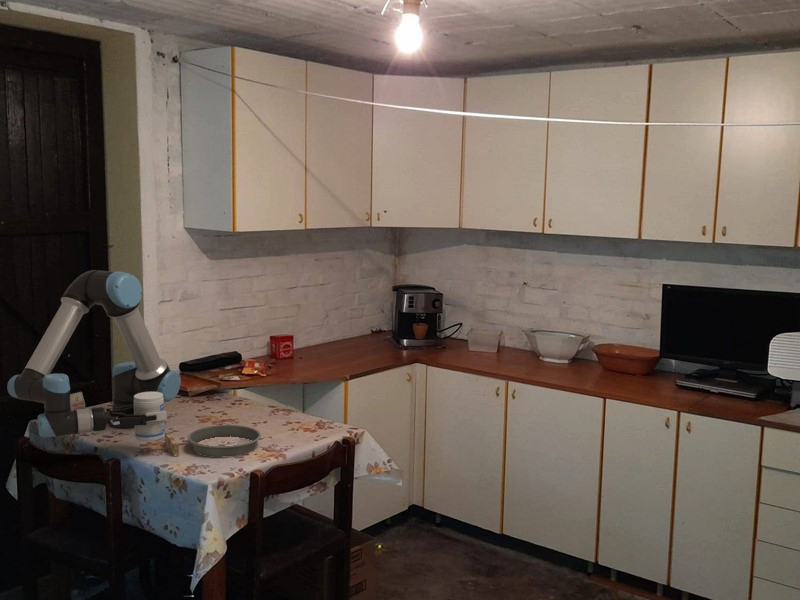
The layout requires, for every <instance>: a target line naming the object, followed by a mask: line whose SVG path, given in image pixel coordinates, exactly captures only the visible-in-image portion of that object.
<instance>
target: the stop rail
mask: <svg viewBox="0 0 800 600" xmlns="http://www.w3.org/2000/svg"><path fill="white" fill-rule="evenodd" d="M165 444H166V445H167V446H166V445H165ZM164 445H165V446H166V448H167V447H168V448H169V449H170V450H169V449H168V448H167V449H168V450H169V452H170V451H171V452H172V453H173V454H172V453H171V452H170V453H171V454H172V456H173V455H174V456H175V455H176V457H178V456H177V455H179V456H180V444H179V442H177V441H176V439H175V438H174V437H173V435H172V434H171V433H170V432H165V436H164ZM174 456H173V457H174Z"/></svg>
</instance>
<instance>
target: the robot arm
mask: <svg viewBox="0 0 800 600" xmlns="http://www.w3.org/2000/svg"><path fill="white" fill-rule="evenodd" d="M142 288H143V287H142V284H141V282H140V280H139V279H138V278H137V277H136V276H135V275H133V274H131V273H127V272H125V271H108V270H100V269H93V270H88V271H86V272H84V273H82V274H80V275H79V276H77V278H75V279H74V280H73V281H72V283H70V285H69V286H68V287H67V288H66V290H65V292H64V293H63V295H62V296H61V298H60V302H61V304H60V306H59V307H58V310H57V312H56V313H55V315H54V316H53V318H52V320H51V322H50V324H49V325H48V327H47V329H46V331H45V332H44V334H43V335H42V338H41V339H40V341H39V342H38V345H37V346H36V347H35V350H34V352H33V354H32V355H31V357H30V359H29V360H28V361H27V364H26V366H25V367H24V369H23V370H22V373H21V374H16V375H13V376H12V377H10V379H9V381H7V386H6V387H7V392H8V394H9V395H10V396H11V397H13V398H15V399H18V400H21V401H30V402H34V403H35V402H36V403H40V404H43V405H44V406H43V408H44V413H40V414H39V415H37V428H38V434H39V436H40V438H57V437H64V436H70V435H78V434H80V435H84V434H86V433H91V432H92V431H93V432H103V431H105V430H106V428H107V425H109V427H111V428H116V429H135V425H146V422H152V421H160V420H164V421H165V420H168V417H167V411H166V410H164V411H163V412H155V413H147V414H146V415H134V395H136V394H138V393H142V392H160V393H162V394H163V398H164V403H168V402H170V401H172V400H174V399H175V397H176V396H177V395H178V394H179V392H180V387H181V383H182V381H181V380H182V379H181V376H180V373H179V372H178V371H176V370H171V369H170V367H169V364H168V362H167V361H166V360H165V359H164V358H160V357H161V356H160V355H159V353H158V351H157V349H156V346H155V344H154V341H153V339H152V337H151V334H150V332H149V330H148V327H147V326H146V324H145V321H144V318H143V315H142V314H141V311H140V310H139V307H140V305H141V300H142V294H141V293H143V289H142ZM95 305H98V306H102V307H103V309H104V311H105V313H106V316H107V317H109V318H113V320H114V322H115V324H116V326H117V328H118V330H119V332H120V335H121V337H122V338H123V342H124V343H125V345H126V347H127V349H128V352H129V353H130V356H131V358H132V360H133V361H125V362H121V363H117V364H115V365H113V368H112V376H111V378H112V399H113V400H112V402H113V403H112V407H111V408H109V407H108V408H106V409H105V408H104V407H102V406H98V407H92V408H91V409H90V408H85V409H80V410H73V411H71V408H70V407H71V406H70V395H71V386H70V385H71V384H70V379H69V376H68V375H67V374H65V373H51V372H52V371H53V369H54V367H55V366H56V363H57V362H58V360H59V359H60V357H61V355H62V354H63V352H64V349H65V347H66V346H67V344H68V342H69V340H70V339H71V337H72V335H73V333H74V332H75V330H76V328H77V326H78V325H79V323H80V321H81V319H82V318H83V315H85V314H88V313H89V311H90V309H91V308H92V307H93V306H95Z"/></svg>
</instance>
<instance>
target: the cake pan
mask: <svg viewBox="0 0 800 600" xmlns="http://www.w3.org/2000/svg"><path fill="white" fill-rule="evenodd" d="M230 436H231V437H239V438H245V439H244V440H247V439H249V440H248V441H249V442H245V443H242V444H238V445H233V446H209V445H203V444H199V443H198V442H200V441H202V440H205V439H210V438H215V437H230ZM261 437H262V433H261V432H260V430H258V429H256V428H254V427H252V426H251V427H250V426H246V425H242V424H241V425H239V424H218V425H217V424H216V425H210V426H205V427H201V428H198V429H195V430H193V431H191V432H190V433H189V434H188V435H187V440H188V441H189V442H190V443H191V446H192V450H194V451H195V453H196V454H197V453H199V454H198V455H200V454H201V455H200V456H203V455H206V456H205V457H209V456H213V457H212V458H223V457H222V456H232V457H238V456H242V455H245V453H246V454H249V453H250V451H251V452H252V451H254V450H255V449H256V446H257V443H258V441H259V440H260V439H261ZM250 440H252V441H250ZM194 451H193V452H194ZM237 455H238V456H237Z"/></svg>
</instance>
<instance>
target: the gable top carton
mask: <svg viewBox="0 0 800 600" xmlns="http://www.w3.org/2000/svg"><path fill="white" fill-rule="evenodd" d="M70 406H71V407H70V408H71V411H73V410H80V409H86V402H85V399H84V395H83V392H82V391H79V392H75V393H70Z"/></svg>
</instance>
